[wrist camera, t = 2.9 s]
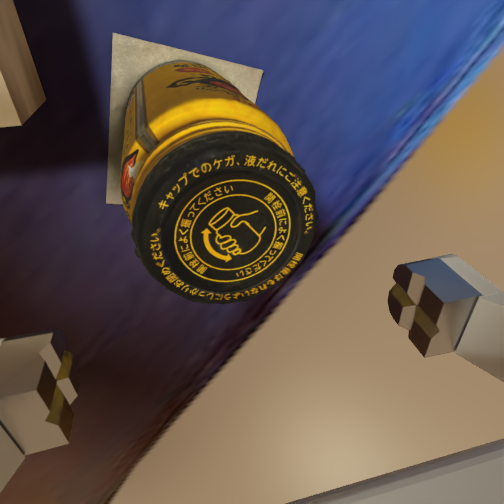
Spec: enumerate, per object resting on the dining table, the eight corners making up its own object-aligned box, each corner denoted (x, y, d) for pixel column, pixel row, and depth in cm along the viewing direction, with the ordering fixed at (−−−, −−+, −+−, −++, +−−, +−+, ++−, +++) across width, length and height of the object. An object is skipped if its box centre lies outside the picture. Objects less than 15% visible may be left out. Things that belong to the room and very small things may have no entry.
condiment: (262, 69, 19) (389, 138, 9) (229, 213, 23) (292, 362, 14) (113, 32, 16) (76, 72, 7) (106, 200, 21) (78, 371, 11)
